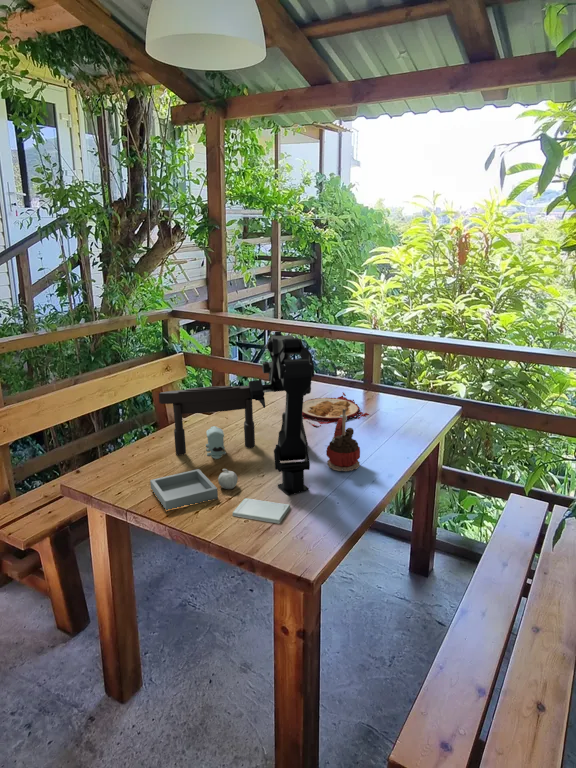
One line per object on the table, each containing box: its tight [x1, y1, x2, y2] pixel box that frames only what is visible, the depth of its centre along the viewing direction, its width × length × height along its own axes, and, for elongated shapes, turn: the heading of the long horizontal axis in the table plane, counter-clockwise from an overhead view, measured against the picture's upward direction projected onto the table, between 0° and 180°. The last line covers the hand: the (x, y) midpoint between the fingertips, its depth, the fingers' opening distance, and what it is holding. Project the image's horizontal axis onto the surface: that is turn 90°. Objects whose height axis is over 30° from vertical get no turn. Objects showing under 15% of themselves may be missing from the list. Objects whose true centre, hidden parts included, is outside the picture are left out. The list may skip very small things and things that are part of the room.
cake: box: [325, 409, 361, 472], centre depth 161 cm, size 11×9×18 cm
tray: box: [149, 468, 219, 510], centre depth 147 cm, size 14×14×3 cm
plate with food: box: [302, 391, 370, 427], centre depth 211 cm, size 25×26×4 cm
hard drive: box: [232, 497, 291, 524], centre depth 138 cm, size 2×8×12 cm
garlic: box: [217, 468, 239, 490], centre depth 151 cm, size 6×5×5 cm
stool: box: [158, 385, 256, 460], centre depth 175 cm, size 16×21×33 cm
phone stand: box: [280, 411, 309, 447], centre depth 176 cm, size 9×6×12 cm, turn 147°
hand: (278, 405), depth 175 cm, fingers open, 9 cm apart
